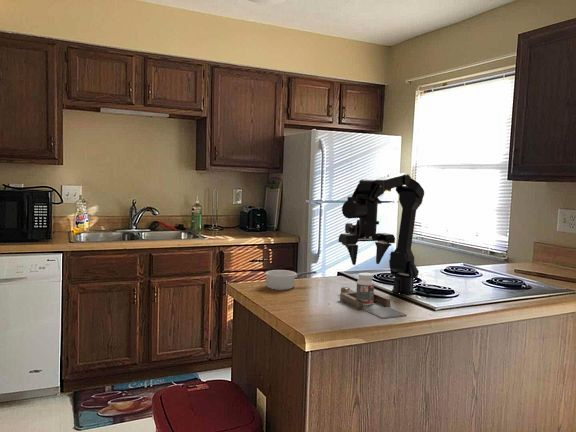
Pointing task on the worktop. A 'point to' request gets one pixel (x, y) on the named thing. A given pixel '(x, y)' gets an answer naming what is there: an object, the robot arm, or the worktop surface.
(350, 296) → the ball knob bracket
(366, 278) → the pill bottle
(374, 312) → the coaster
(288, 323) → the worktop surface
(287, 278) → the saucepan
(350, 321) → the worktop surface
